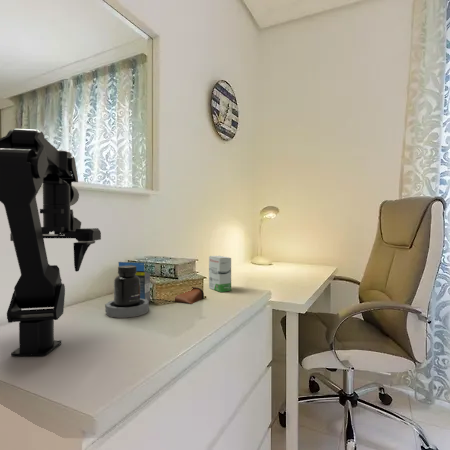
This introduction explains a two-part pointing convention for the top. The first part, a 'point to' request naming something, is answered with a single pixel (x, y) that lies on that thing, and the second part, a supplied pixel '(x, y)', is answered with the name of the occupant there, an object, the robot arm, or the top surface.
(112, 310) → the ring seat
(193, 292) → the sunglasses case
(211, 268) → the ink box
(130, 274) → the supplement bottle
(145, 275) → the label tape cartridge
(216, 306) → the top surface
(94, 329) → the top surface
